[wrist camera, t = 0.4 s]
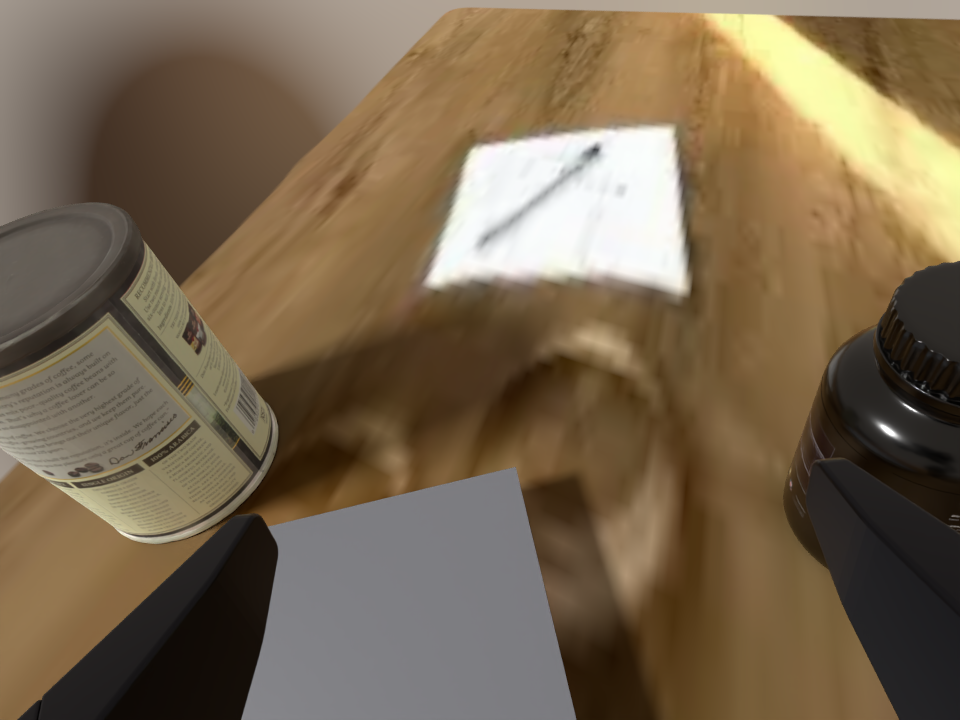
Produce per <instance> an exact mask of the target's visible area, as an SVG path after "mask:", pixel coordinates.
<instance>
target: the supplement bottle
mask: <svg viewBox="0 0 960 720" xmlns="http://www.w3.org/2000/svg"><path fill="white" fill-rule="evenodd" d="M839 457H840V458H845V459H847V460H849V461H851V462H853V463H854V464H856V465H857V466H859V467H860V468H862V469H863V470H865V471H866V472H868V473H869V474H871V475H872V476H874V477H875V478H877V479H878V480H880V481H881V482H883V483H884V484H886V485H887V486H889V487H890V488H892V489H893V490H895V491H896V492H898V493H900V494H901V495H903V496H904V497H906V498H907V499H909V500H910V501H912V502H913V503H915V504H916V505H918V506H919V507H921V508H922V509H924V510H925V511H927V512H928V513H930V514H931V515H933V516H934V517H936V518H937V519H939V520H940V521H942V522H943V523H945V524H947V525H948V526H950V527H951V528H953V529H954V530H956V531H957V532H959V533H960V261H957V262H954V263H941V264H939V265H937V266H928V267H927V268H925V269H924V270H921V271H916V272H915V273H914V274H913V275H912V276H911V277H908V278H905V279H904V281H903V282H902V284H901V285H900V286H899V287H898V288H897V289H896V290H895V292H894V294H893V296H892V299H891V301H890V303H889V306H888V308H887V311H886V312H885V313H884V314H883V316H882V317H881V319H880V321H879V323H878V324H876V325H873V326H871V327H868V328H866V329H864V330H862V331H860V332H859V333H857V334H855V335H854V336H852V337H851V338H849V339H848V340H847V341H846V342H844V343H843V344H842V345H841V346H840V347H839V348H838V349H837V350H836V352H835V353H834V354H833V356H832V357H831V359H830V361H829V363H828V365H827V367H826V369H825V371H824V374H823V377H822V380H821V382H820V385H819V388H818V391H817V394H816V396H815V399H814V402H813V405H812V408H811V410H810V413H809V416H808V419H807V421H806V424H805V427H804V430H803V433H802V435H801V438H800V441H799V444H798V447H797V449H796V452H795V455H794V458H793V461H792V463H791V466H790V469H789V472H788V475H787V479H786V482H785V487H784V495H783V499H784V508H785V513H786V516H787V519H788V522H789V524H790V527H791V528H792V530H793V532H794V534H795V536H796V537H797V539H798V540H799V541H800V543H801V544H802V545H803V547H804V548H805V549H806V550H807V551H808V552H809V553H810V554H811V555H812V556H813V557H814V558H815V559H816V560H817V561H818V562H820V563H821V564H822V565H823V566H825V567H826V568H827V569H829V568H828V565H827V562H826V560H825V557H824V554H823V552H822V549H821V546H820V543H819V541H818V538H817V535H816V532H815V530H814V527H813V524H812V522H811V519H810V516H809V513H808V510H807V506H806V492H807V487H808V482H809V477H810V472H811V467H812V464H813V463H814V462H815V461H816V460H818V459H828V458H839Z"/></svg>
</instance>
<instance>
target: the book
mask: <svg viewBox="0 0 960 720" xmlns="http://www.w3.org/2000/svg"><path fill="white" fill-rule="evenodd" d="M268 528H269V530H270V532H271V533H272V535H273V537H274V539H275V540H276V542H277V545H278V561H277V567H276V572H275V578H274V584H273V589H272V595H271V601H270V607H269V612H268V618H267V624H266V629H265V634H264V639H263V644H262V647H261V651H260V655H259V659H258V662H257V666H256V669H255V673H254V677H253V680H252V684H251V687H250V691H249V694H248V698H247V701H246V705H245V708H244V712H243V715H242V719H241V720H576V716H575V711H574V707H573V703H572V699H571V695H570V691H569V687H568V682H567V678H566V674H565V670H564V666H563V662H562V657H561V653H560V649H559V645H558V641H557V637H556V633H555V628H554V624H553V620H552V616H551V612H550V608H549V603H548V599H547V595H546V591H545V587H544V583H543V579H542V574H541V570H540V566H539V562H538V558H537V554H536V550H535V545H534V541H533V537H532V533H531V529H530V525H529V520H528V516H527V512H526V508H525V504H524V500H523V496H522V491H521V487H520V483H519V479H518V475H517V471H516V467H514V468H509V469H505V470H501V471H497V472H493V473H489V474H485V475H480V476H476V477H472V478H468V479H464V480H460V481H456V482H452V483H447V484H443V485H439V486H435V487H431V488H427V489H423V490H418V491H414V492H410V493H406V494H402V495H398V496H394V497H389V498H385V499H381V500H377V501H373V502H369V503H365V504H360V505H356V506H352V507H348V508H344V509H340V510H336V511H332V512H327V513H323V514H319V515H315V516H311V517H307V518H303V519H298V520H294V521H290V522H286V523H282V524H278V525H274V526H269V527H268Z"/></svg>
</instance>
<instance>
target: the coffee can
mask: <svg viewBox="0 0 960 720" xmlns="http://www.w3.org/2000/svg"><path fill="white" fill-rule="evenodd" d="M277 442H278V425H277V420H276V417H275V414H274V412H273V411H272V409H271V407H270V406H269V404H268V403H266V402H265V401H264V400H263V399H262V397H261V396H260V395H259V394H258V392H257V391H256V390H255V388H254V387H253V386H252V384H251V383H250V382H249V380H248V379H247V378H246V376H245V375H244V374H243V372H242V371H241V370H240V368H239V367H238V365H237V364H236V363H235V361H234V360H233V359H232V357H231V356H230V355H229V353H228V352H227V351H226V349H225V348H224V347H223V345H222V344H221V343H220V341H219V340H218V339H217V338H216V336H215V335H214V334H213V332H212V331H211V330H210V328H209V327H208V326H207V324H206V323H205V322H204V320H203V319H202V318H201V316H200V315H199V314H198V312H197V311H196V310H195V308H194V307H193V306H192V304H191V303H190V301H189V300H188V299H187V297H186V296H185V295H184V293H183V292H182V291H181V289H180V288H179V287H178V286H177V284H176V283H175V281H174V280H173V279H172V278H171V276H170V275H169V274H168V272H167V271H166V270H165V268H164V267H163V266H162V264H161V263H160V262H159V260H158V259H157V258H156V256H155V255H154V254H153V252H152V251H151V250H150V248H149V247H148V246H147V244H146V243H145V242H144V240H143V239H142V238H141V234H140V231H139V229H138V227H137V225H136V224H135V222H134V221H133V219H132V218H131V217H130V215H129V214H128V213H127V212H126V211H124V210H123V209H121V208H119V207H117V206H114V205H110V204H106V203H82V204H72V205H66V206H62V207H56V208H52V209H49V210H44V211H41V212H38V213H35V214H31V215H29V216H26V217H23V218H21V219H18V220H15V221H12V222H10V223H8V224H5V225H3V226H1V227H0V448H1V449H2V450H4V451H5V452H7V453H8V454H9V455H11V456H12V457H14V458H15V459H17V460H18V461H20V462H21V463H22V464H24V465H25V466H27V467H28V468H30V469H31V470H33V471H34V472H35V473H37V474H38V475H40V476H41V477H43V478H44V479H46V480H47V481H49V482H50V483H52V484H53V485H55V486H56V487H58V488H59V489H60V490H62V491H63V492H65V493H66V494H68V495H69V496H71V497H72V498H73V499H75V500H76V501H78V502H79V503H81V504H82V505H84V506H85V507H86V508H88V509H89V510H91V511H92V512H94V513H95V514H97V515H98V516H99V517H101V518H102V519H104V520H105V521H107V522H108V523H110V524H111V525H112V526H113V527H114V528H115V529H116V530H117V531H118V532H119V533H121V534H122V535H124V536H125V537H127V538H129V539H131V540H135V541H138V542H143V543H151V544H162V543H168V542H171V541H178V540H182V539H185V538H188V537H191V536H193V535H195V534H198V533H200V532H202V531H204V530H206V529H208V528H210V527H211V526H213V525H215V524H216V523H218V522H220V521H221V520H222V519H224V518H225V517H226V516H228V515H229V514H231V513H232V512H233V511H235V510H236V509H237V508H238V506H239V505H241V504H242V503H243V502H244V501H245V500H246V499H247V498H248V497H249V496H250V494H251V493H252V492H253V491H254V490H255V489H256V488H257V487H258V485H259V484H260V482H261V481H262V479H263V478H264V476H265V475H266V473H267V471H268V469H269V468H270V465H271V463H272V461H273V458H274V456H275V454H276V448H277Z"/></svg>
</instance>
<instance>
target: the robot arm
mask: <svg viewBox="0 0 960 720" xmlns="http://www.w3.org/2000/svg"><path fill="white" fill-rule="evenodd" d="M806 506H807V510H808V513H809V516H810V519H811V522H812V524H813V527H814V530H815V532H816V535H817V538H818V541H819V543H820V546H821V549H822V552H823V554H824V557H825V560H826V562H827V565H828V568H829V571H830V573H831V576H832V579H833V581H834V584H835V587H836V590H837V592H838V595H839V597H840V600H841V602H842V605H843V607H844V609H845V611H846V613H847V616H848V618H849V620H850V622H851V624H852V626H853V628H854V630H855V632H856V634H857V636H858V638H859V640H860V642H861V644H862V646H863V648H864V650H865V652H866V654H867V656H868V658H869V660H870V662H871V664H872V666H873V668H874V670H875V672H876V674H877V676H878V678H879V680H880V682H881V684H882V686H883V688H884V690H885V692H886V694H887V696H888V698H889V700H890V702H891V704H892V706H893V708H894V710H895V712H896V714H897V716H898V718H899V720H960V533H959V532H957V531H956V530H954V529H953V528H951V527H950V526H948V525H947V524H945V523H943V522H942V521H940V520H939V519H937V518H936V517H934V516H933V515H931V514H930V513H928V512H927V511H925V510H924V509H922V508H921V507H919V506H918V505H916V504H915V503H913V502H912V501H910V500H909V499H907V498H906V497H904V496H903V495H901V494H900V493H898V492H896V491H895V490H893V489H892V488H890V487H889V486H887V485H886V484H884V483H883V482H881V481H880V480H878V479H877V478H875V477H874V476H872V475H871V474H869V473H868V472H866V471H865V470H863V469H862V468H860V467H859V466H857V465H856V464H854V463H853V462H851V461H849V460H847V459H845V458H840V457H839V458H828V459H818V460H816V461H815V462H814V463H813V464H812V467H811V472H810V477H809V482H808V487H807V492H806ZM277 561H278V545H277V542H276V540H275V539H274V537H273V535H272V533H271V532H270V530H269V528H268V527H267V525H266V523H265V521H264V520H263V518H262V517H261V516H260V515H258V514H255V513H253V514H243V515H236V516H234V517H232V518H231V519H230V520H229V521H228V522H227V523H226V524H225V525H223V526H222V527H221V528H220V529H219V530H218V531H217V532H216V533H215V534H214V535H213V536H212V537H211V538H210V539H209V540H208V541H206V542H205V543H204V544H203V545H202V546H201V547H200V548H199V549H198V550H197V551H196V552H195V553H194V554H193V555H192V556H191V557H190V558H188V559H187V560H186V561H185V562H184V563H183V564H182V565H181V566H180V567H179V568H178V569H177V570H176V571H175V572H174V573H173V574H172V575H170V576H169V577H168V578H167V579H166V580H165V581H164V582H163V583H162V584H161V585H160V586H159V587H158V588H157V589H156V590H155V591H153V592H152V593H151V594H150V595H149V596H148V597H147V598H146V599H145V600H144V601H143V602H142V603H141V604H140V605H139V606H138V607H137V608H135V609H134V610H133V611H132V612H131V613H130V614H129V615H128V616H127V617H126V618H125V619H124V620H123V621H122V622H121V623H120V624H119V625H117V626H116V627H115V628H114V629H113V630H112V631H111V632H110V633H109V634H108V635H107V636H106V637H105V638H104V639H103V640H102V641H100V642H99V643H98V644H97V645H96V646H95V647H94V648H93V649H92V650H91V651H90V652H89V653H88V654H87V655H86V656H85V657H84V658H82V659H81V660H80V661H79V662H78V663H77V664H76V665H75V666H74V667H73V668H72V669H71V670H70V671H69V672H68V673H67V674H65V675H64V676H63V677H62V678H61V679H60V680H59V681H58V682H57V683H56V684H55V685H54V686H53V687H52V688H51V689H50V690H48V691H47V692H46V693H45V694H44V695H43V697H42V700H38V701H37V702H36V703H35V704H33V705H32V706H31V707H30V708H29V709H28V710H27V711H26V712H25V713H24V714H23V715H22V716H21V717H20V718H19V719H18V720H241V719H242V715H243V712H244V708H245V705H246V701H247V698H248V694H249V691H250V687H251V684H252V680H253V677H254V673H255V669H256V666H257V662H258V659H259V655H260V651H261V647H262V644H263V639H264V634H265V629H266V624H267V618H268V612H269V607H270V601H271V595H272V589H273V584H274V578H275V572H276V567H277Z"/></svg>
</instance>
